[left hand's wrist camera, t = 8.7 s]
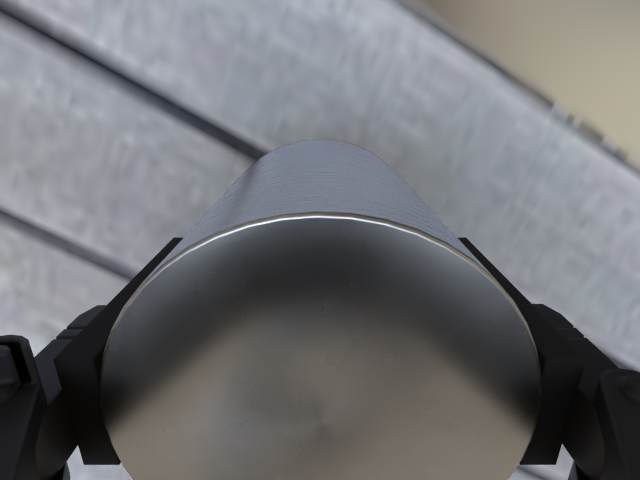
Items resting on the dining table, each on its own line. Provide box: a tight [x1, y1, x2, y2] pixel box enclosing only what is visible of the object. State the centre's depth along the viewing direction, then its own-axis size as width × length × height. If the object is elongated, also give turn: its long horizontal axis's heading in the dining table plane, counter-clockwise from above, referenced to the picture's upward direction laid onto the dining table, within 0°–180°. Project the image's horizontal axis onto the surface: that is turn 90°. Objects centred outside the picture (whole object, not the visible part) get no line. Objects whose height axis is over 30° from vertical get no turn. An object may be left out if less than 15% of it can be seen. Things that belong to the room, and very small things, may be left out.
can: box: [100, 139, 541, 480], centre depth 12 cm, size 8×8×10 cm
